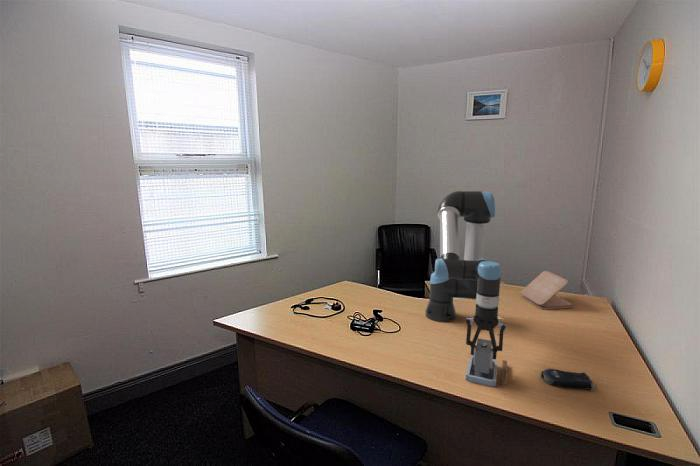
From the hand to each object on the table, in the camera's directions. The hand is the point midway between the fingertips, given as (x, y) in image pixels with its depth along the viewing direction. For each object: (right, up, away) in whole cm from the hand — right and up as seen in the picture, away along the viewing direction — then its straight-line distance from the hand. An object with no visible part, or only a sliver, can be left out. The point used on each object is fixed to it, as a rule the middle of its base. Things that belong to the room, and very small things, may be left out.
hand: (482, 364), depth 133 cm
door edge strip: (+8, -4, 0) cm, 9 cm away
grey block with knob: (0, 0, 0) cm, 0 cm away
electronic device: (+28, -5, -4) cm, 28 cm away
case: (+61, +9, +70) cm, 93 cm away
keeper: (0, -3, +1) cm, 3 cm away
